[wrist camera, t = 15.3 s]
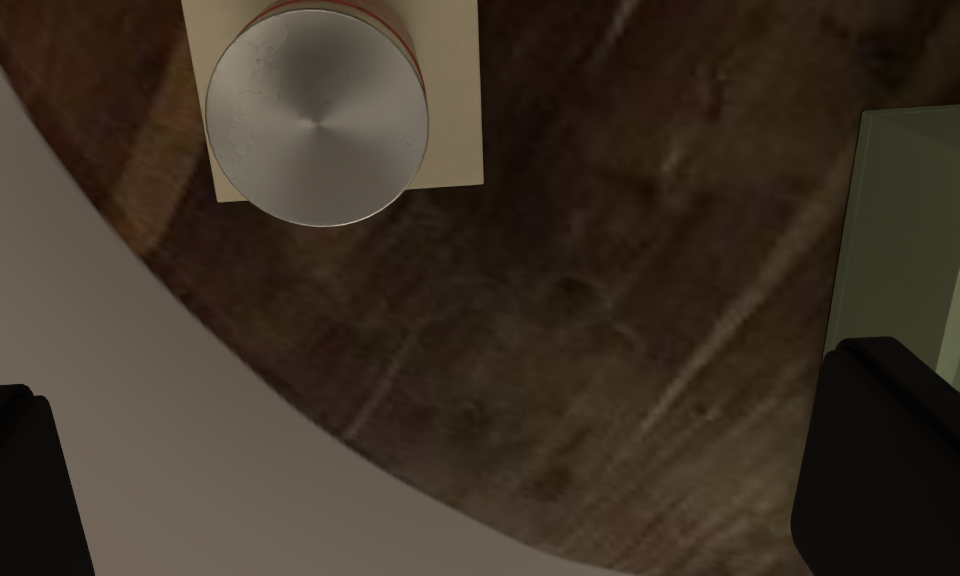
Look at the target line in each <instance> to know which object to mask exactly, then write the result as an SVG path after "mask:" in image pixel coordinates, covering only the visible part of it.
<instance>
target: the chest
mask: <svg viewBox="0 0 960 576" xmlns="http://www.w3.org/2000/svg"><path fill="white" fill-rule="evenodd" d="M879 336H891V337H893V338H895V339H897V340H898V341H899V342H901V343H902V344H903V345H904V346H905V347H906V348H908V349H909V350H910V351H911V352H912V353H913V354H915V355H916V356H917V357H918V358H919V359H921V360H922V361H923V362H924V363H925V364H926V365H928V366H929V367H930V368H931V369H932V370H933V371H935V372H936V373H937V374H938V375H939V376H941V377H942V378H943V379H944V380H945V381H946V382H948V383H949V384H950V385H951V386H952V387H953V388H955V389H956V390H957V391H958V392H959V393H960V104H959V105H943V106H927V107H912V108H896V109H880V110H865V111H863V112H862V118H861V124H860V130H859V137H858V143H857V149H856V155H855V161H854V168H853V174H852V180H851V186H850V192H849V198H848V205H847V211H846V217H845V223H844V229H843V236H842V242H841V248H840V254H839V260H838V266H837V273H836V279H835V285H834V291H833V297H832V304H831V310H830V316H829V322H828V328H827V335H826V341H825V347H824V353H823V359H824V357H825V355H826V354H827V352H829V351H832V350H835V349H836V346H837V345H838V343H839V342H840V341H841V340H843V339H845V338H861V337H879ZM823 359H822V362H823ZM821 367H822V365H821Z"/></svg>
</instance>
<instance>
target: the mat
mask: <svg viewBox="0 0 960 576" xmlns="http://www.w3.org/2000/svg"><path fill="white" fill-rule="evenodd" d="M274 1H275V0H181V2H182V7H183V13H184V19H185V24H186V30H187V35H188V41H189V47H190V52H191V58H192V63H193V69H194V74H195V80H196V86H197V91H198V97H199V102H200V108H201V113H202V119H203V125H204V130H205V136H206V141H207V147H208V153H209V158H210V164H211V169H212V175H213V180H214V186H215V192H216V197H217V201H218V202H229V201H244V200H247V199H246V198H245V197H244V196H243V195H242V194H240V192H239V191H238V190H237V189H236V188H235V187H234V186H233V185H232V184H231V183H230V181H229V180H228V178H227V177H226V176H225V174H224V173H223V171H222V170H221V168H220V166H219V164H218V162H217V161H216V159H215V156H214V154H213V151H212V149H211V146H210V143H209V139H208V135H207V131H206V122H205V100H206V94H207V88H208V84H209V81H210V78H211V75H212V72H213V70H214V68H215V66H216V64H217V62H218V60H219V58H220V57H221V55H222V54H223V52H224V51H225V49H226V48H227V47H228V46H229V45H230V44H231V42H232V41H233V40H234V39H235V38H236V37H237V35H238V34H239V33H240V32H241V31H242V30H243V28H244V27H245V26H246V25H247V24H248V23H249V22H251V21H252V20H253V19H254V18H255V17H256V16H257V15H258V14H260V13H261V12H262V11H263V10H264V9H265V8H266V7H268V6H269V5H270V4H271V3H272V2H274ZM385 1H386V2H387V3H388V4H389V5H390V6H391V7H392V8H393V9H394V10H395V11H396V13H397V14H398V15H399V17H400V18H401V19H402V21H403V23H404V25H405V27H406V28H407V31H408V33H409V35H410V37H411V40H412V42H413V45H414V47H415V51H416V55H417V59H418V62H419V66H420V70H421V74H422V77H423V81H424V85H425V91H426V98H427V105H428V113H429V134H428V142H427V147H426V150H425V154H424V158H423V160H422V162H421V165H420V167H419V170H418V171H417V173H416V175H415V177H414V178H413V180H412V182H411V183H410V184H409V185H408V187H407V188H406V189H418V188H433V187H447V186H462V185H476V184H483V183H484V175H483V147H482V118H481V89H480V60H479V32H478V3H477V0H385Z"/></svg>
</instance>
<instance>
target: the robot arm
mask: <svg viewBox="0 0 960 576" xmlns="http://www.w3.org/2000/svg"><path fill="white" fill-rule="evenodd" d="M791 533H792V538H793V541H794V544H795V546H796V548H797V550H798V551H799V553H800V554H801V556H802V558H803V559H804V561H805V562H806V564H807V565H808V567H809V569H810V570H811V572H812V573H813V575H814V576H960V393H959V392H958V391H957V390H956V389H955V388H953V387H952V386H951V385H950V384H949V383H948V382H946V381H945V380H944V379H943V378H942V377H941V376H939V375H938V374H937V373H936V372H935V371H933V370H932V369H931V368H930V367H929V366H928V365H926V364H925V363H924V362H923V361H922V360H921V359H919V358H918V357H917V356H916V355H915V354H913V353H912V352H911V351H910V350H909V349H908V348H906V347H905V346H904V345H903V344H902V343H901V342H899V341H898V340H897V339H895V338H893V337H891V336H879V337H861V338H845V339H843V340H841V341H840V342H839V343H838V345H837V346H836V349H835V350H832V351H829V352H827V354H826V355H825V357H824V359H823V362H822V367H821V372H820V376H819V381H818V386H817V391H816V396H815V401H814V406H813V411H812V416H811V421H810V426H809V431H808V436H807V441H806V446H805V451H804V455H803V460H802V465H801V470H800V475H799V480H798V485H797V490H796V495H795V500H794V505H793V510H792V515H791ZM0 576H95V573H94V568H93V564H92V560H91V557H90V553H89V549H88V545H87V541H86V538H85V534H84V530H83V526H82V523H81V519H80V515H79V512H78V508H77V504H76V500H75V496H74V493H73V489H72V485H71V481H70V478H69V474H68V470H67V466H66V463H65V459H64V455H63V451H62V448H61V444H60V440H59V436H58V433H57V429H56V425H55V421H54V418H53V414H52V410H51V407H50V404H49V402H48V400H47V399H46V398H45V397H44V396H42V395H40V396H34V395H33V393H32V391H31V390H30V388H29V387H28V386H26V385H24V384H12V385H0Z"/></svg>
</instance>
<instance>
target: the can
mask: <svg viewBox="0 0 960 576" xmlns="http://www.w3.org/2000/svg"><path fill="white" fill-rule="evenodd" d="M205 122H206V131H207V135H208V139H209V143H210V146H211V149H212V151H213V154H214V156H215V159H216V161H217V162H218V164H219V166H220V168H221V170H222V171H223V173H224V174H225V176H226V177H227V178H228V180H229V181H230V183H231V184H232V185H233V186H234V187H235V188H236V189H237V190H238V191H239V192H240V194H242V195H243V196H244V197H245V198H246V199H247V200H249V201H250V202H251V203H252V204H254V205H255V206H257V207H258V208H260V209H261V210H263V211H265V212H267V213H269V214H271V215H273V216H275V217H277V218H279V219H282V220H285V221H288V222H291V223H295V224H299V225H304V226H313V227H334V226H342V225H347V224H351V223H355V222H358V221H361V220H363V219H366V218H368V217H371V216H373V215H374V214H376V213H378V212H380V211H381V210H383V209H384V208H386V207H387V206H388V205H390V204H391V203H392V202H394V201H395V200H396V199H397V198H398V197H399V196H400V195H401V194H402V193H403V192H404V191H405V189H406V188H407V187H408V185H409V184H410V183H411V182H412V180H413V178H414V177H415V175H416V173H417V171H418V170H419V167H420V165H421V162H422V160H423V158H424V154H425V150H426V147H427V142H428V134H429V113H428V105H427V98H426V91H425V85H424V81H423V77H422V74H421V70H420V66H419V62H418V59H417V55H416V51H415V47H414V45H413V42H412V40H411V37H410V35H409V33H408V31H407V28H406V27H405V25H404V23H403V21H402V19H401V18H400V17H399V15H398V14H397V13H396V11H395V10H394V9H393V8H392V7H391V6H390V5H389V4H388V3H387V2H386V1H385V0H275V1H274V2H272V3H271V4H270V5H269V6H268V7H266V8H265V9H264V10H263V11H262V12H261V13H260V14H258V15H257V16H256V17H255V18H254V19H253V20H252V21H251V22H249V23H248V24H247V25H246V26H245V27H244V28H243V30H242V31H241V32H240V33H239V34H238V35H237V37H236V38H235V39H234V40H233V41H232V42H231V44H230V45H229V46H228V47H227V48H226V49H225V51H224V52H223V54H222V55H221V57H220V58H219V60H218V62H217V64H216V66H215V68H214V70H213V72H212V75H211V78H210V81H209V84H208V88H207V94H206V100H205Z"/></svg>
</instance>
